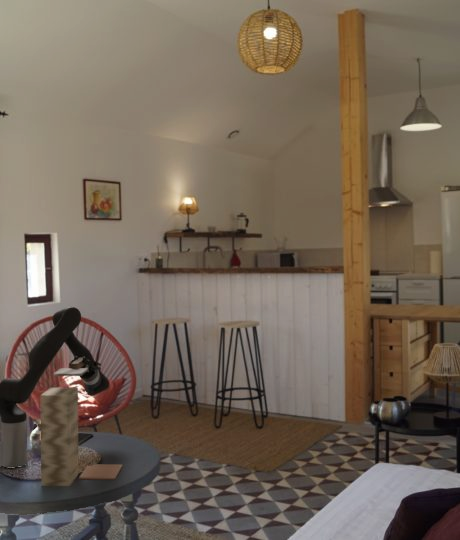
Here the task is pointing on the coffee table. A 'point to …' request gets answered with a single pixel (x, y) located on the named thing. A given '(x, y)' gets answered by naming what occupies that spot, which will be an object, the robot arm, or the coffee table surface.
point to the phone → (83, 437)
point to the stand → (59, 436)
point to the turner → (72, 369)
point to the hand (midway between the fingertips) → (79, 359)
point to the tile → (101, 471)
